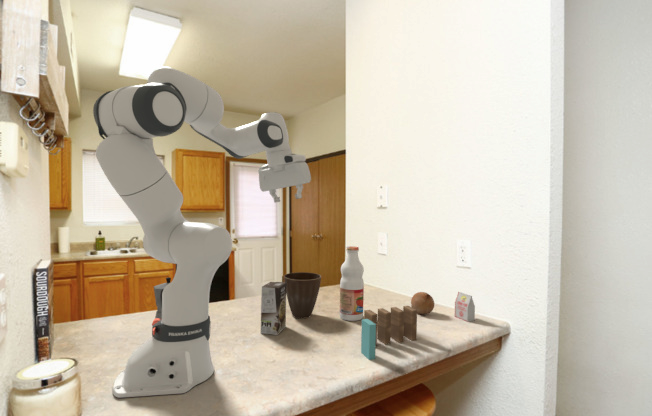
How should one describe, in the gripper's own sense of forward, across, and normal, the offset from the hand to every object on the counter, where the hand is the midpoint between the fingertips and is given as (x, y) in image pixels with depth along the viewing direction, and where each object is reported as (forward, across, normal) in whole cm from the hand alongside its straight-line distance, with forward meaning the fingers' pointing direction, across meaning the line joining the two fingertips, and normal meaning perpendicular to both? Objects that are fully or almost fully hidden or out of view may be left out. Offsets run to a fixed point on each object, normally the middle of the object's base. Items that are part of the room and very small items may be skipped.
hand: (287, 200), depth 116 cm
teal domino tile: (+49, +25, -9) cm, 56 cm away
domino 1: (+50, +22, 0) cm, 54 cm away
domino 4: (+53, +31, +11) cm, 62 cm away
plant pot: (+47, -12, +10) cm, 49 cm away
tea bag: (+60, +43, +42) cm, 85 cm away
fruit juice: (+51, +6, +19) cm, 54 cm away
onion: (+57, +28, +40) cm, 75 cm away
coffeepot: (+37, -41, -28) cm, 62 cm away
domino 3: (+52, +28, +7) cm, 59 cm away
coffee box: (+44, -11, -8) cm, 46 cm away
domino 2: (+51, +25, +3) cm, 57 cm away
